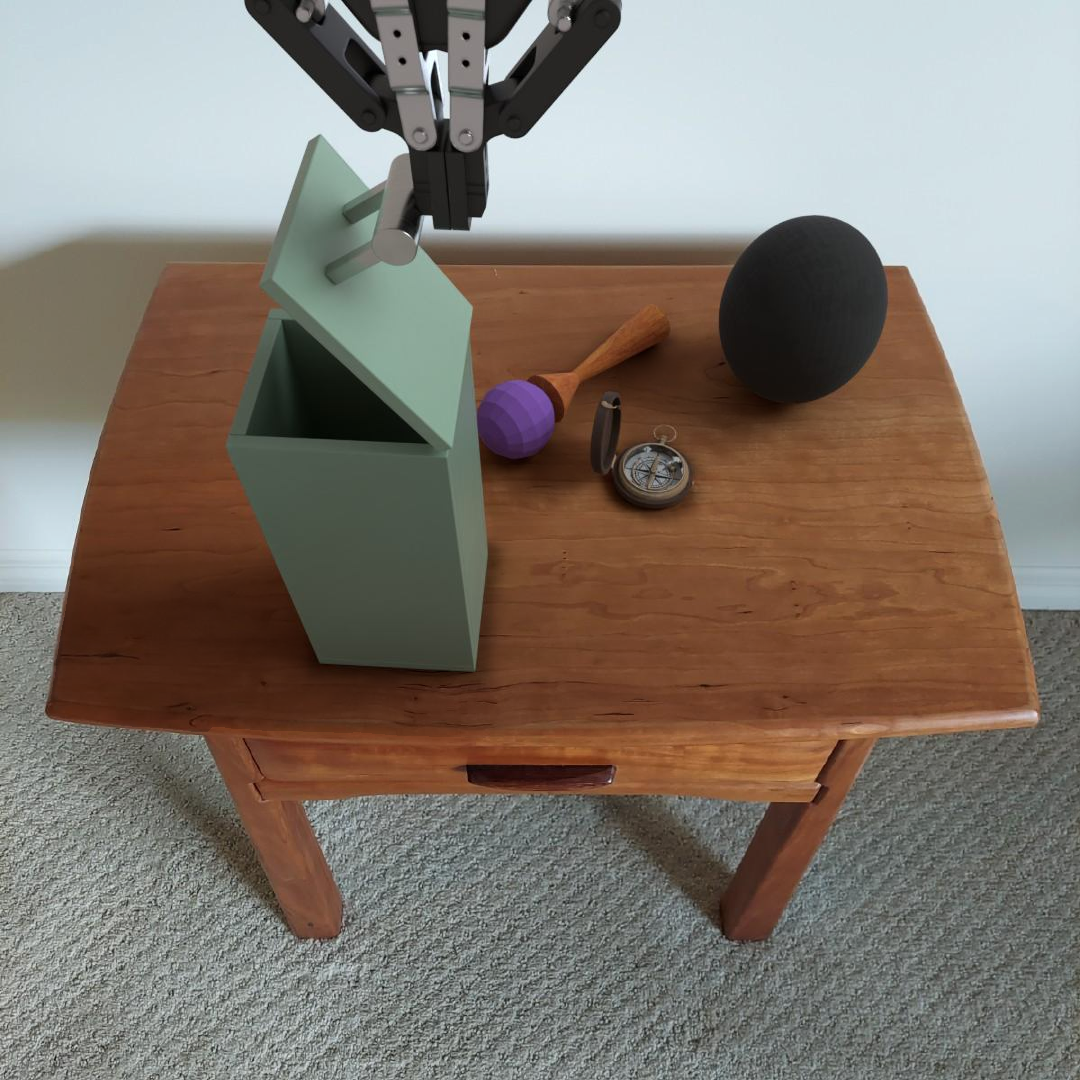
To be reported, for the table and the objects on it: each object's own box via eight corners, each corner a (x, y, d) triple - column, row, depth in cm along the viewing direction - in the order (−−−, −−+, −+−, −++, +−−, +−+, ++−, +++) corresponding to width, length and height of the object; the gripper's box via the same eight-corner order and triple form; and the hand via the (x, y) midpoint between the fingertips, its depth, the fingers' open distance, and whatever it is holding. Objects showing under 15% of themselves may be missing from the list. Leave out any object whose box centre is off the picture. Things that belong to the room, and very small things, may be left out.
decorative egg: (692, 418, 75) (722, 270, 62) (720, 318, 81) (752, 166, 69) (846, 452, 73) (908, 306, 60) (861, 346, 79) (921, 195, 67)
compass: (684, 519, 69) (697, 458, 63) (582, 494, 70) (586, 432, 64) (705, 441, 73) (719, 376, 67) (608, 419, 75) (615, 354, 69)
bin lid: (257, 286, 35) (358, 229, 33) (307, 140, 41) (397, 82, 38) (439, 454, 43) (532, 417, 40) (461, 312, 48) (545, 273, 46)
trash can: (319, 663, 62) (224, 447, 43) (344, 546, 68) (269, 308, 49) (475, 672, 62) (447, 457, 43) (488, 553, 67) (468, 316, 49)
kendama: (692, 319, 76) (522, 441, 66) (669, 367, 81) (509, 486, 71) (639, 275, 77) (465, 389, 68) (620, 324, 82) (456, 436, 73)
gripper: (104, -322, 22) (275, 271, 36) (668, -307, 21) (614, 286, 36) (191, -402, 26) (313, 158, 40) (663, -391, 25) (616, 170, 40)
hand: (455, 217), depth 38 cm, fingers closed
